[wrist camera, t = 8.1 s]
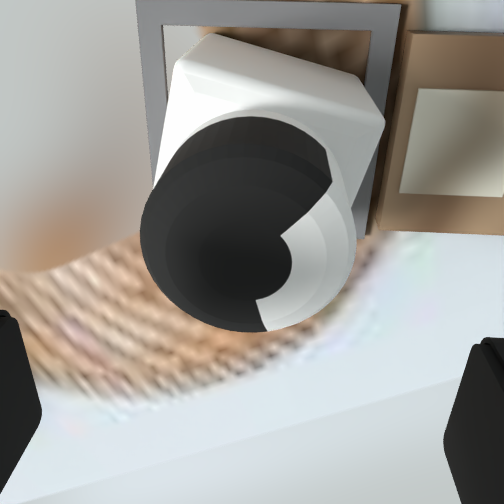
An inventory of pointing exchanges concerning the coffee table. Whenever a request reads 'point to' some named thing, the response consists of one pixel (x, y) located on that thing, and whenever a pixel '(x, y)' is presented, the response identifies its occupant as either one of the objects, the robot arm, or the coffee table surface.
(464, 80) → the board
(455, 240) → the coffee table surface
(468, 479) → the robot arm
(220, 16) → the frame
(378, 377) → the coffee table surface
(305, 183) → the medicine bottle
